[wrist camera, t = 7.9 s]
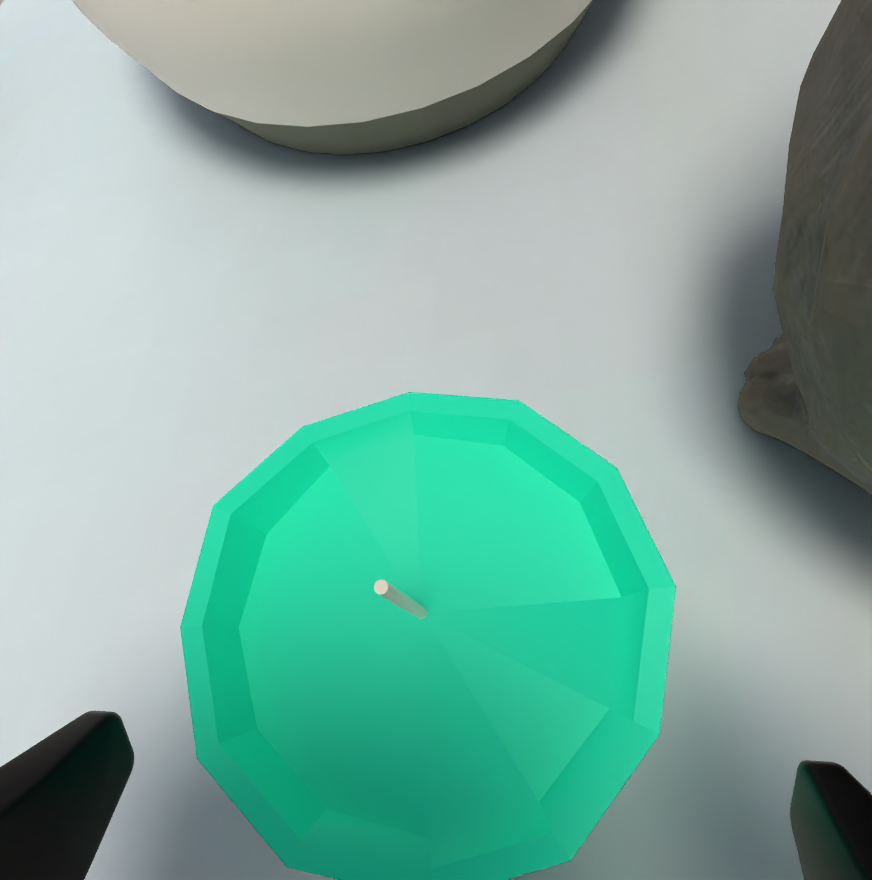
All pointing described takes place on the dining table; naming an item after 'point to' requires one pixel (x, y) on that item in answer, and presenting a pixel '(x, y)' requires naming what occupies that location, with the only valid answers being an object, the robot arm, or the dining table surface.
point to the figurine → (825, 264)
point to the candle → (427, 642)
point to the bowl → (343, 61)
